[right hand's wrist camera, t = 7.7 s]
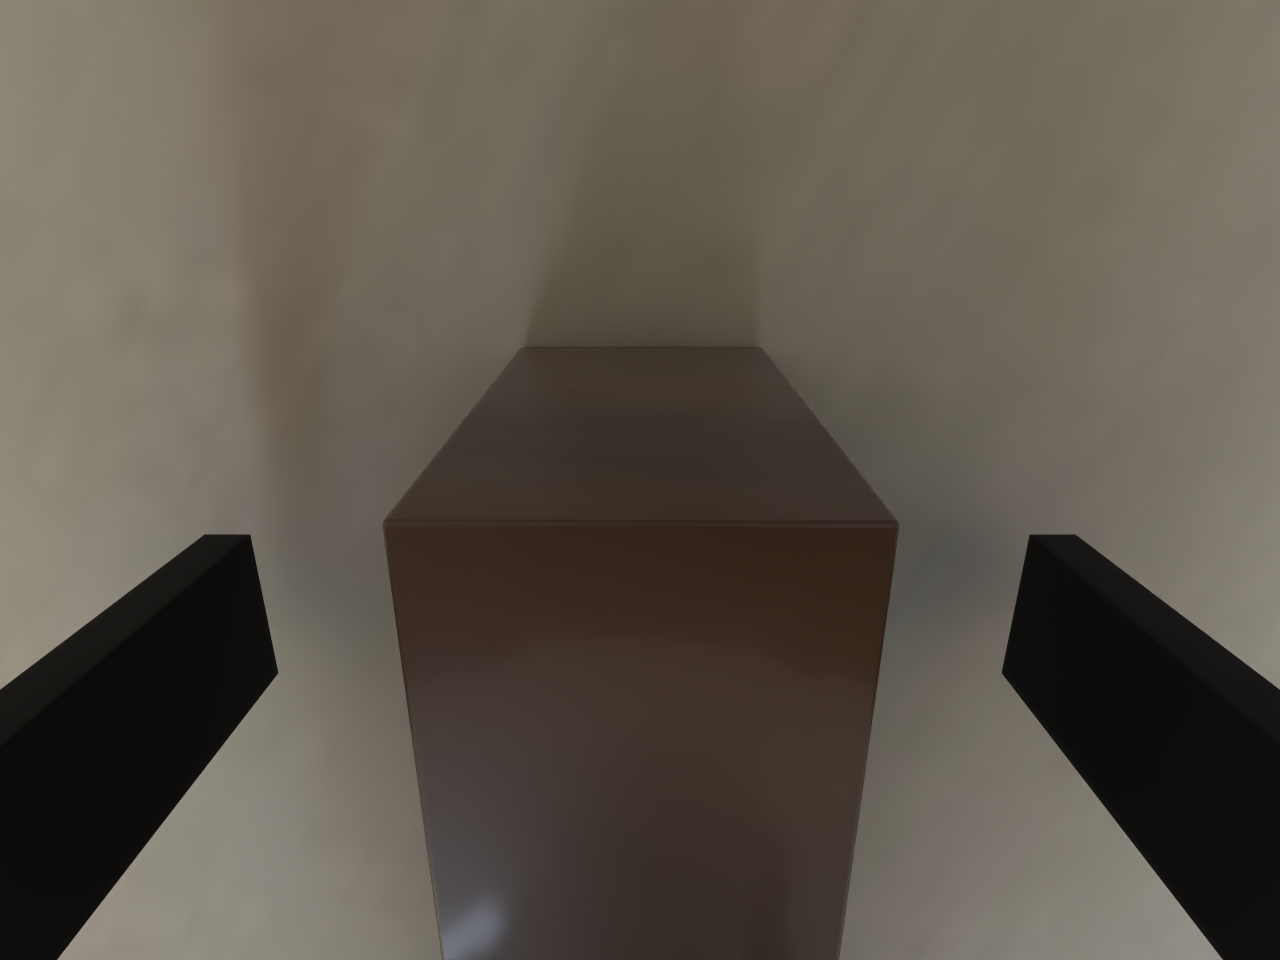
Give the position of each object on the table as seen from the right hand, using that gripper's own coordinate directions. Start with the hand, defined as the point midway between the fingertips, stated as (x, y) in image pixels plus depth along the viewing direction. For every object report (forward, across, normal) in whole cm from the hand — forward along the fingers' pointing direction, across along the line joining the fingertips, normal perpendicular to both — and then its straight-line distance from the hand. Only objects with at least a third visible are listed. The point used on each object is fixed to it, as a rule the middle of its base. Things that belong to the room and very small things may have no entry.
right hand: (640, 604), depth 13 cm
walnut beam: (+1, 0, -11) cm, 11 cm away
